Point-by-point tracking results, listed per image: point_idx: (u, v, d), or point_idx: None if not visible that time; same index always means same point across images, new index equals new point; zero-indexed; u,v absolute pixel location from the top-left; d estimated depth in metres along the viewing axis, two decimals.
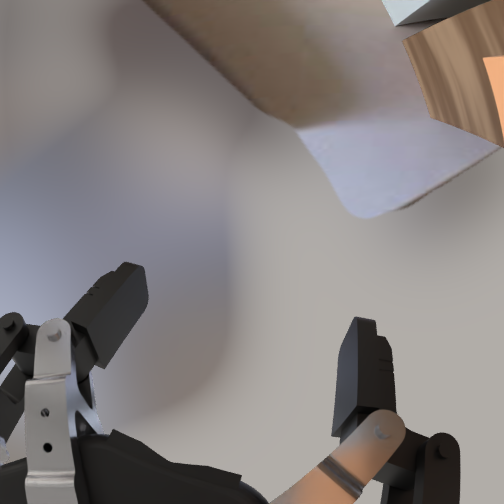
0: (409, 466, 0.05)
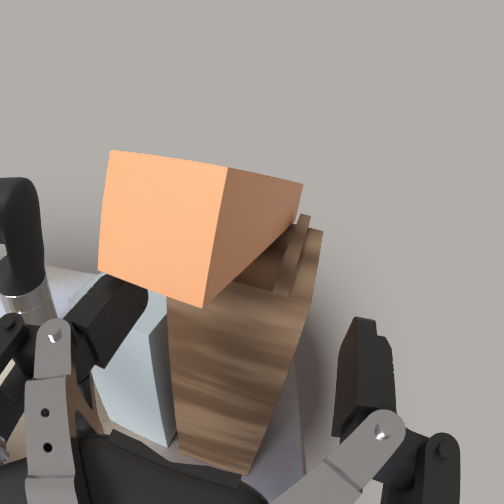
0: (409, 466, 0.05)
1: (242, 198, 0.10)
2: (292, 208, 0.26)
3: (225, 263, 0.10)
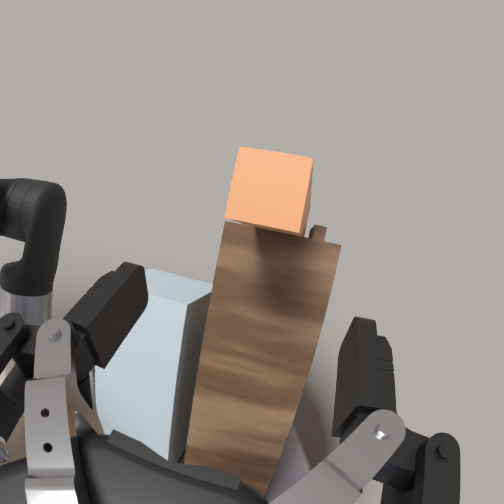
0: (409, 466, 0.05)
1: None
2: None
3: (303, 216, 0.17)
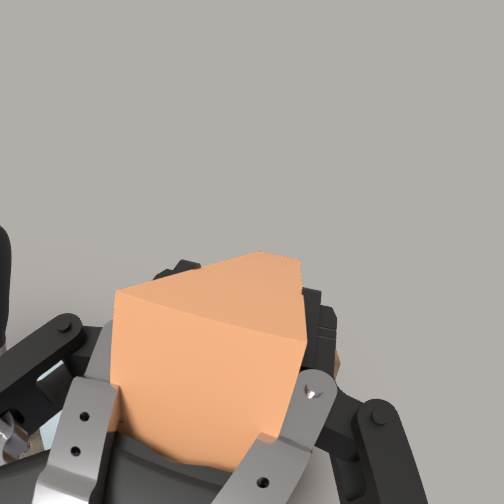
0: (342, 430, 0.06)
1: None
2: None
3: None
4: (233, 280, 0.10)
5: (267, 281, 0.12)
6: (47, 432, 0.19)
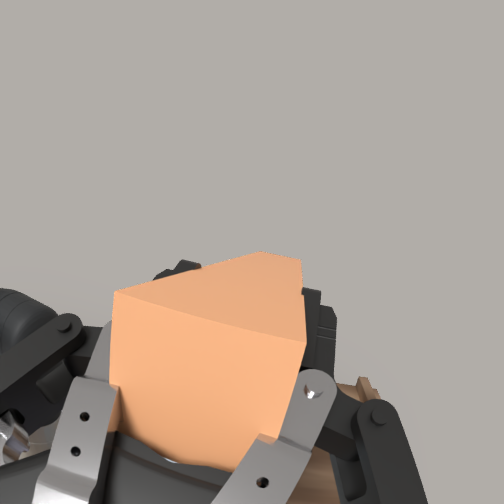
0: (342, 430, 0.06)
1: None
2: None
3: None
4: (233, 280, 0.10)
5: (267, 281, 0.12)
6: None
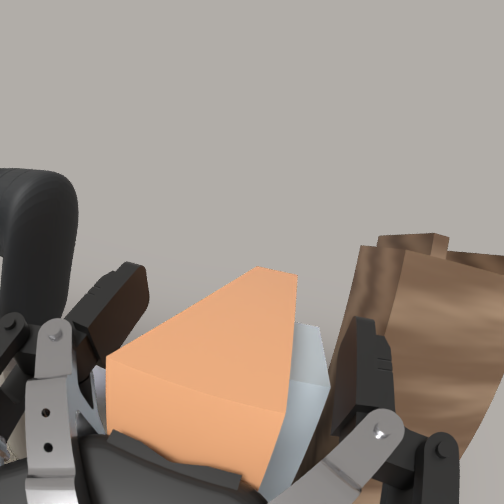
0: (408, 465, 0.05)
1: None
2: None
3: None
4: (224, 323, 0.10)
5: (259, 319, 0.12)
6: None
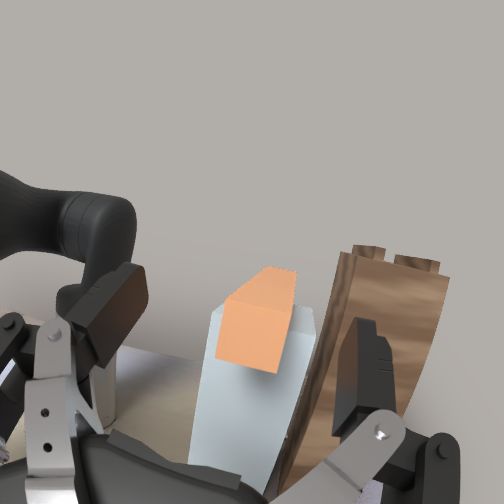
0: (409, 466, 0.05)
1: None
2: None
3: None
4: (261, 291, 0.22)
5: (276, 291, 0.24)
6: (212, 380, 0.29)
